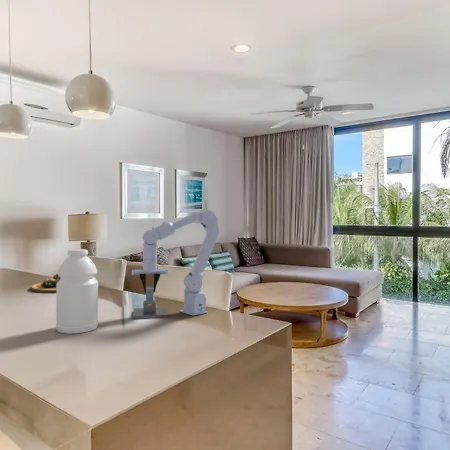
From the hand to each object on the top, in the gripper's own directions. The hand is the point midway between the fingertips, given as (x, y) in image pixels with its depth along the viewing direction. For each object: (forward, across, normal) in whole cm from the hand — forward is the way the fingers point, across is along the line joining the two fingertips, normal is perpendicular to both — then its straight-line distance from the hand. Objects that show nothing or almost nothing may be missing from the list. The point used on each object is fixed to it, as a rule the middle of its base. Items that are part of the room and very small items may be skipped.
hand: (149, 292), depth 152 cm
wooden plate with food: (+10, -50, +71) cm, 88 cm away
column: (+5, 0, 0) cm, 5 cm away
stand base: (+9, 0, 0) cm, 9 cm away
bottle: (+9, -25, -17) cm, 32 cm away
